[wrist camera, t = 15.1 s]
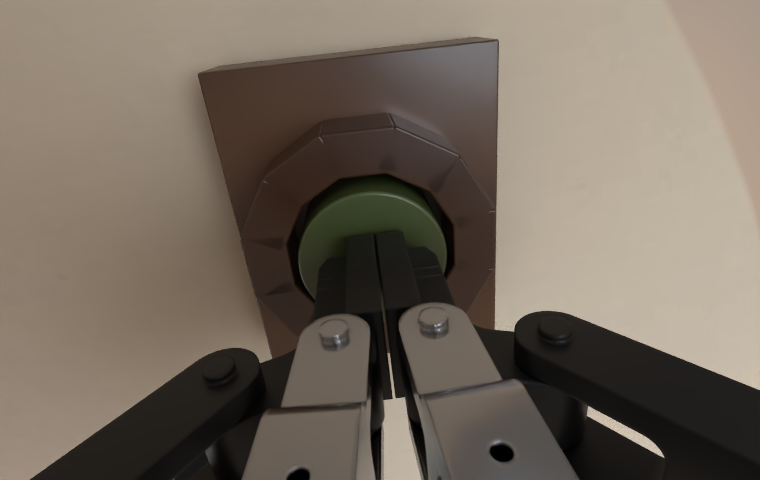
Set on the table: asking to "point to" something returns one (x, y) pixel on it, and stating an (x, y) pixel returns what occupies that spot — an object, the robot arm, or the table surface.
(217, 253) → the table surface
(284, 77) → the button block
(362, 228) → the button
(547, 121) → the table surface
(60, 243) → the table surface
